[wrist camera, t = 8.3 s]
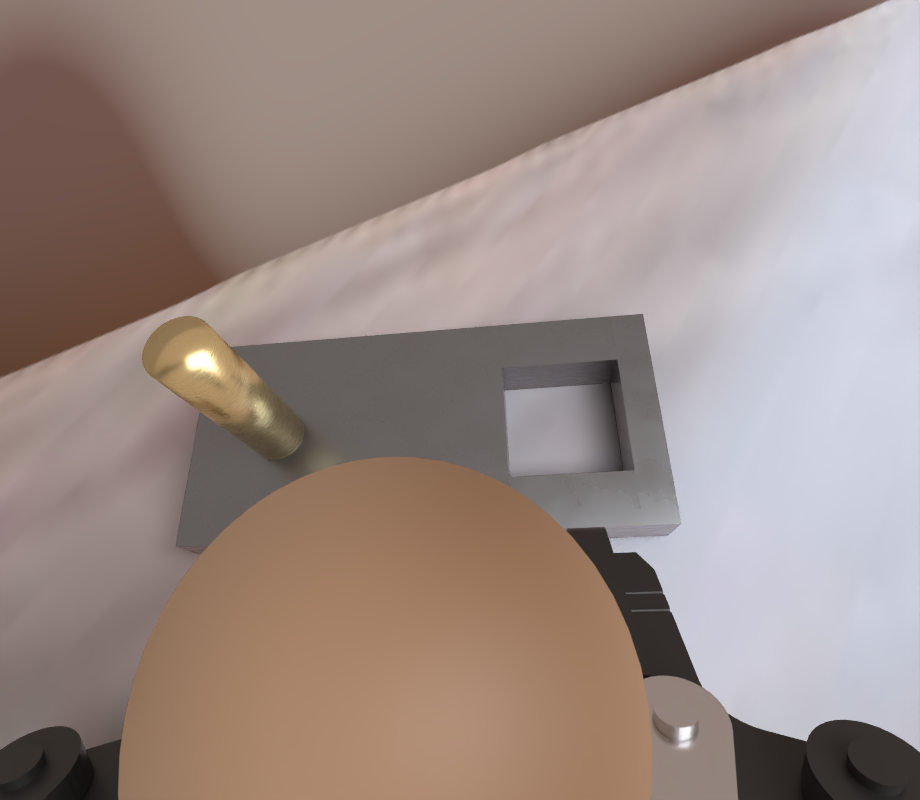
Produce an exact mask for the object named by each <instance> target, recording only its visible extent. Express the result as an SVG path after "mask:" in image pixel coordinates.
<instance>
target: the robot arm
mask: <svg viewBox="0 0 920 800" xmlns="http://www.w3.org/2000/svg"><path fill="white" fill-rule="evenodd" d="M566 531H567V532H568V533H569V534H570V535H571V536H572V537H573V538H574V540H575V541H576V542H577V543H578V545H579V546H580V547H581V549H582V550H583V551H584V552H585V554H586V555H587V556H588V557H589V559H590V560H591V561H592V562H593V564H594V565H595V567H596V568H597V570H598V571H599V573H600V575H601V576H602V578H603V580H604V581H605V583H606V585H607V586H608V588H609V589H610V591H611V593H612V594H613V596H614V598H615V601H616V603H617V605H618V607H619V609H620V611H621V614H622V616H623V618H624V620H625V622H626V624H627V627H628V629H629V632H630V635H631V638H632V641H633V644H634V647H635V650H636V653H637V656H638V659H639V662H640V666H641V670H642V675H643V680H644V685H645V690H646V695H647V700H648V705H649V713H650V725H651V738H652V777H651V797H650V800H920V752H919V751H917V750H916V749H915V748H914V747H912V746H911V745H910V744H908V743H907V742H905V741H904V740H902V739H901V738H899V737H897V736H895V735H893V734H892V733H890V732H888V731H885V730H883V729H881V728H879V727H876V726H873V725H870V724H867V723H863V722H858V721H851V720H834V721H829V722H825V723H823V724H821V725H819V726H817V727H816V728H815V729H814V730H813V731H812V732H811V734H810V735H809V737H808V740H807V742H806V741H803V740H799V739H795V738H791V737H788V736H784V735H780V734H776V733H773V732H769V731H765V730H762V729H759V728H756V727H753V726H750V725H748V724H746V723H743V722H741V721H740V720H738V719H736V718H734V717H732V716H731V715H730V714H728V713H727V712H726V710H725V708H724V707H723V706H722V704H721V703H720V702H719V701H718V700H717V699H716V698H715V697H714V696H713V695H712V694H711V693H710V692H708V691H707V690H705V689H704V688H703V687H702V686H701V684H700V682H699V679H698V677H697V674H696V672H695V669H694V667H693V665H692V662H691V660H690V657H689V655H688V652H687V650H686V647H685V645H684V642H683V640H682V637H681V635H680V632H679V630H678V627H677V625H676V622H675V620H674V617H673V615H672V612H670V607H669V605H668V602H667V600H666V597H665V595H664V594H663V590H662V587H661V585H660V583H659V580H658V578H657V575H656V573H655V570H654V569H653V568H652V567H651V566H650V565H649V564H648V563H647V562H646V561H645V560H644V559H642V558H641V557H640V556H639V555H638V554H637V553H636V552H632V553H613V550H612V547H611V544H610V541H609V538H608V534H607V531H606V529H605V527H590V528H567V530H566ZM121 740H122V739H121ZM121 740H117V741H114V742H111V743H107V744H104V745H100V746H97V747H94V748H90V749H87V750H86V749H85V747H84V745H83V743H82V740H81V738H80V736H79V734H78V733H77V732H76V731H75V730H73V729H71V728H68V727H63V726H56V727H48V728H45V729H41V730H38V731H35V732H32V733H30V734H27V735H25V736H23V737H21V738H19V739H17V740H16V741H14V742H12V743H10V744H9V745H7V746H6V747H4V748H3V749H1V750H0V800H119V799H118V783H119V756H120V747H121Z"/></svg>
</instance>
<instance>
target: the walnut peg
mask: <svg viewBox="0 0 920 800" xmlns="http://www.w3.org/2000/svg"><path fill="white" fill-rule="evenodd" d="M651 777H652V738H651V725H650V713H649V705H648V700H647V695H646V690H645V685H644V680H643V675H642V670H641V666H640V662H639V659H638V656H637V653H636V650H635V647H634V644H633V641H632V638H631V635H630V632H629V629H628V627H627V624H626V622H625V620H624V618H623V616H622V614H621V611H620V609H619V607H618V605H617V603H616V601H615V598H614V596H613V594H612V593H611V591H610V589H609V588H608V586H607V585H606V583H605V581H604V580H603V578H602V576H601V575H600V573H599V571H598V570H597V568H596V567H595V565H594V564H593V562H592V561H591V560H590V559H589V557H588V556H587V555H586V554H585V552H584V551H583V550H582V549H581V547H580V546H579V545H578V543H577V542H576V541H575V540H574V538H573V537H572V536H571V535H570V534H569V533H568V532H567V531H566V530H565V529H564V528H563V527H561V526H560V525H559V524H558V523H557V522H556V521H555V520H554V519H553V518H552V517H551V516H550V515H549V514H548V513H547V512H545V511H544V510H543V509H541V508H540V507H539V506H537V505H536V504H535V503H533V502H532V501H531V500H530V499H528V498H527V497H526V496H524V495H523V494H521V493H519V492H517V491H516V490H514V489H512V488H510V487H509V486H507V485H505V484H504V483H502V482H500V481H498V480H496V479H494V478H491V477H489V476H487V475H484V474H482V473H479V472H477V471H475V470H472V469H470V468H466V467H462V466H458V465H455V464H451V463H447V462H444V461H438V460H431V459H423V458H416V457H380V458H372V459H363V460H356V461H352V462H348V463H343V464H339V465H335V466H331V467H328V468H325V469H322V470H320V471H317V472H314V473H312V474H309V475H307V476H304V477H301V478H299V479H297V480H295V481H293V482H292V483H290V484H288V485H286V486H284V487H282V488H280V489H278V490H276V491H274V492H273V493H271V494H270V495H268V496H267V497H265V498H264V499H262V500H261V501H259V502H258V503H256V504H255V505H253V506H252V507H250V508H249V509H248V510H247V511H245V512H244V513H243V514H242V515H241V516H239V517H238V518H237V519H236V520H235V521H234V522H232V523H231V524H230V525H229V526H228V527H227V528H225V529H224V530H223V531H222V532H221V533H220V534H219V535H218V537H217V538H216V539H215V540H214V541H213V542H212V543H211V544H210V545H209V546H208V547H207V548H206V549H205V550H204V551H203V552H202V553H201V555H200V556H199V557H198V559H197V560H196V561H195V563H194V564H193V565H192V566H191V568H190V569H189V570H188V572H187V573H186V574H185V576H184V577H183V578H182V580H181V581H180V583H179V584H178V586H177V588H176V589H175V591H174V592H173V594H172V596H171V597H170V599H169V601H168V602H167V604H166V605H165V607H164V609H163V611H162V613H161V615H160V617H159V619H158V621H157V623H156V625H155V627H154V629H153V631H152V633H151V635H150V637H149V640H148V642H147V644H146V647H145V650H144V652H143V655H142V658H141V661H140V663H139V666H138V669H137V672H136V675H135V677H134V681H133V685H132V689H131V693H130V697H129V701H128V705H127V709H126V713H125V719H124V726H123V733H122V740H121V747H120V756H119V783H118V799H119V800H650V797H651Z"/></svg>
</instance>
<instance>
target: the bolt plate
mask: <svg viewBox="0 0 920 800" xmlns="http://www.w3.org/2000/svg"><path fill="white" fill-rule="evenodd" d="M142 360H143V365H144V368H145V370H146V371H147V373H148V374H149V375H150V376H152V377H153V378H154V379H156V380H157V381H158V382H160V383H161V384H163V385H164V386H165V387H167V388H168V389H170V390H171V391H172V392H174V393H175V394H176V395H178V396H179V397H181V398H182V399H183V400H185V401H186V402H187V403H189V404H190V405H192V406H193V407H194V408H196V409H197V410H198V411H200V415H199V420H198V426H197V431H196V437H195V442H194V448H193V453H192V459H191V464H190V470H189V475H188V481H187V486H186V492H185V497H184V503H183V508H182V514H181V519H180V525H179V530H178V536H177V541H176V547H179V548H182V549H186V550H189V551H192V552H196V553H199V554H201V553H202V552H203V551H204V550H205V549H206V548H207V547H208V546H209V545H210V544H211V543H212V542H213V541H214V540H215V539H216V538H217V537H218V535H219V534H220V533H221V532H222V531H223V530H224V529H225V528H227V527H228V526H229V525H230V524H231V523H232V522H234V521H235V520H236V519H237V518H238V517H239V516H241V515H242V514H243V513H244V512H245V511H247V510H248V509H249V508H250V507H252V506H253V505H255V504H256V503H258V502H259V501H261V500H262V499H264V498H265V497H267V496H268V495H270V494H271V493H273V492H274V491H276V490H278V489H280V488H282V487H284V486H286V485H288V484H290V483H292V482H293V481H295V480H297V479H299V478H301V477H304V476H307V475H309V474H312V473H314V472H317V471H320V470H322V469H325V468H328V467H331V466H335V465H339V464H343V463H348V462H352V461H356V460H363V459H372V458H380V457H416V458H423V459H431V460H438V461H444V462H447V463H451V464H455V465H458V466H462V467H466V468H470V469H472V470H475V471H477V472H479V473H482V474H484V475H487V476H489V477H491V478H494V479H496V480H498V481H500V482H502V483H504V484H505V485H507V486H509V487H510V488H512V489H514V490H516V491H517V492H519V493H521V494H523V495H524V496H526V497H527V498H528V499H530V500H531V501H532V502H533V503H535V504H536V505H537V506H539V507H540V508H541V509H543V510H544V511H545V512H547V513H548V514H549V515H550V516H551V517H552V518H553V519H554V520H555V521H556V522H557V523H558V524H559V525H560V526H561V527H563V528H564V529H565V530H567V528H590V527H605V529H606V531H607V534H608V538H618V537H641V536H664V535H669V534H670V533H671V532H672V531H673V530H675V529H676V528H677V527H678V526H679V525H680V524H681V519H680V514H679V509H678V503H677V498H676V492H675V487H674V481H673V476H672V470H671V465H670V459H669V454H668V449H667V443H666V438H665V432H664V427H663V421H662V416H661V410H660V405H659V400H658V394H657V389H656V383H655V378H654V372H653V367H652V361H651V356H650V350H649V345H648V340H647V334H646V329H645V323H644V318H643V314H637V315H624V316H612V317H599V318H587V319H574V320H562V321H549V322H537V323H524V324H512V325H500V326H487V327H475V328H462V329H450V330H437V331H425V332H412V333H400V334H387V335H375V336H363V337H350V338H338V339H325V340H313V341H300V342H288V343H275V344H263V345H250V346H238V347H230V346H229V345H228V344H227V343H226V342H225V341H224V340H223V339H222V338H221V337H220V336H219V335H218V334H217V333H216V332H215V331H214V330H213V329H212V328H211V327H210V326H209V325H208V324H207V323H206V322H205V321H203V320H202V319H199V318H197V317H191V316H184V317H178V318H175V319H172V320H170V321H168V322H166V323H164V324H163V325H161V326H160V327H159V328H157V329H156V330H155V331H154V332H153V333H152V335H151V336H150V337H149V339H148V340H147V342H146V344H145V347H144V350H143V355H142ZM601 383H611V389H612V396H613V402H614V409H615V416H616V423H617V430H618V436H619V443H620V450H621V457H622V464H623V470H624V471H612V472H594V473H575V474H557V475H538V476H520V477H510V471H509V455H508V438H507V422H506V405H505V390H514V389H529V388H543V387H558V386H572V385H586V384H601Z"/></svg>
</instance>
